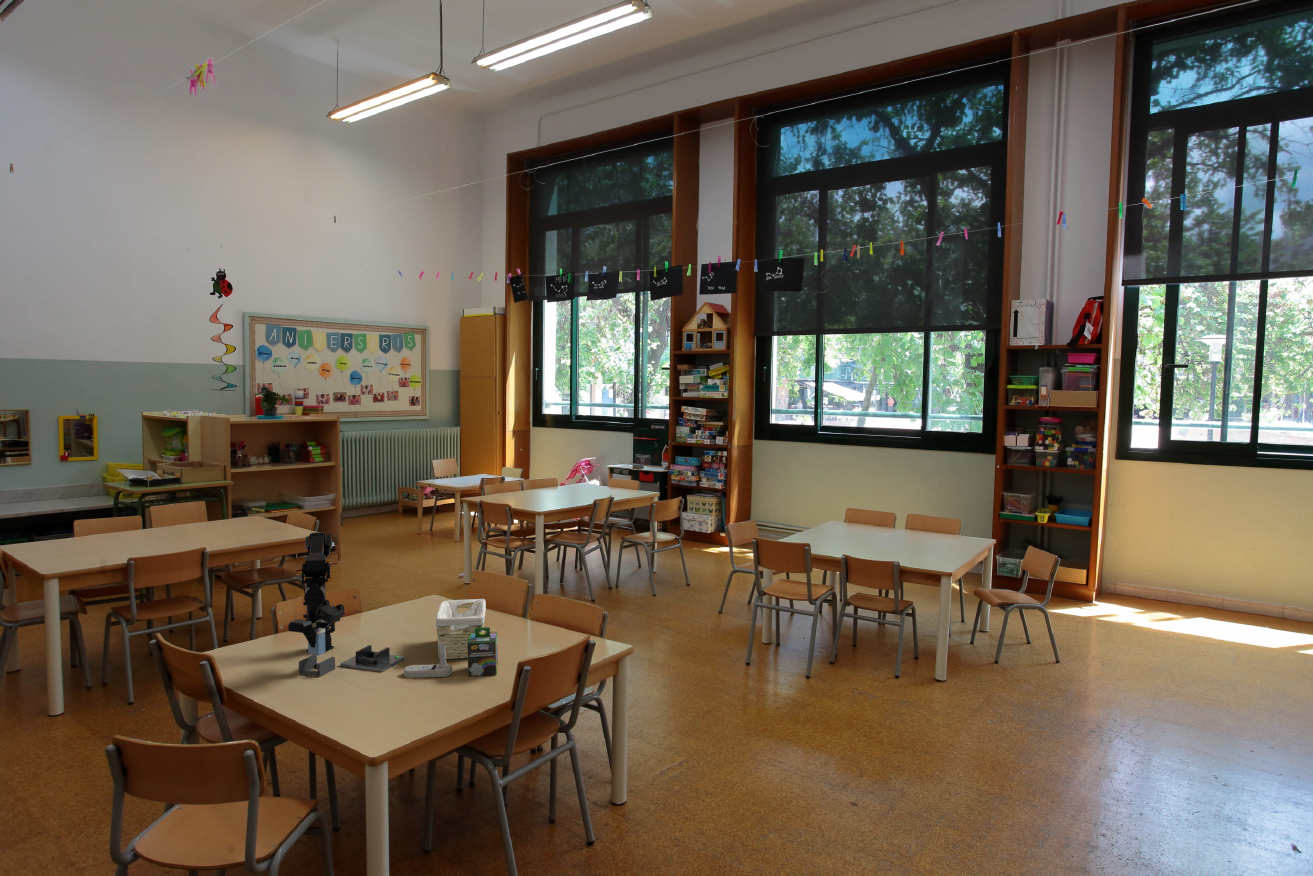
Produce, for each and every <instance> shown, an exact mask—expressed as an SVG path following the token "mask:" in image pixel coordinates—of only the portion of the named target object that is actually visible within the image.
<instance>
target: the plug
mask: <svg viewBox="0 0 1313 876" xmlns="http://www.w3.org/2000/svg"><path fill="white" fill-rule="evenodd" d="M307 649H308V652H307V653H308V655H309V656H312V655H316V656H317V657H318V656H319V657H320V656H322V655H324V654H326V652H325V628H319V629H318V630H317V631H316V642H315V647H314V648H312V647H311V646H310V644H309V642H308V641H307Z"/></svg>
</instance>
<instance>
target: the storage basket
mask: <svg viewBox="0 0 1313 876" xmlns="http://www.w3.org/2000/svg"><path fill="white" fill-rule="evenodd" d="M486 605H487V603H486V599H485V598H480V599H479V598H477V599H475V598H472V599H454V600H453V599H451V600H449V599H447V600H444V601H442V602H441V603H440V604H439V606H438V610H437V612H436V617H435V619H436V620H435V626H436V636H437V640H436V641H437V658H438V659H439V660H440V645H441V644H445V649H446V660H450V659H454V660H455V659H462V660H463V659H466V658H467V659H468V649H467V642H468V639H469V634H471V633H475V628H481V627H485V618H486V610H487V609H486V607H487V606H486ZM458 609H469V610H466V611H463V612H460V613H459V612H458ZM482 632H485V631H484V630H481V631H480V632H479V633H482Z"/></svg>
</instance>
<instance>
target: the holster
mask: <svg viewBox="0 0 1313 876" xmlns="http://www.w3.org/2000/svg"><path fill="white" fill-rule="evenodd" d="M313 669H316V670H313ZM334 670H336V657H335V656H330V657H329V658H326V659H325V660H322V661H320V662H318V656H316V655H309V656H308V657H306V658H303V659H302V660H299V661H298V674H299V675H305V676H313V677H319V678H320V677H323V676H325V675H327V674H328V673H331V672H332V671H334Z"/></svg>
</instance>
